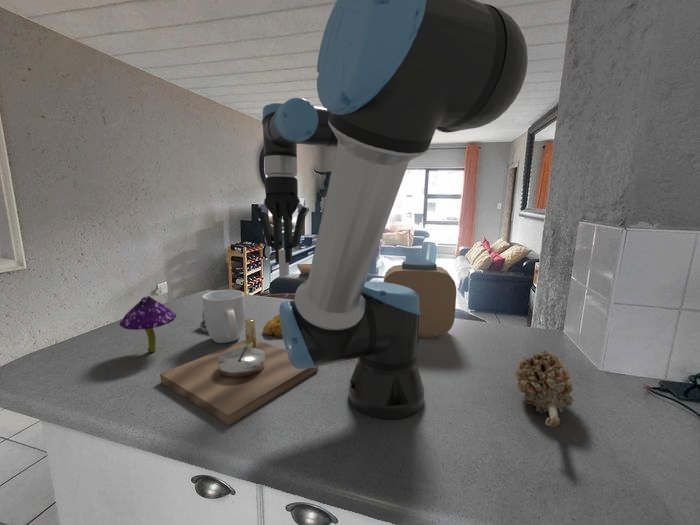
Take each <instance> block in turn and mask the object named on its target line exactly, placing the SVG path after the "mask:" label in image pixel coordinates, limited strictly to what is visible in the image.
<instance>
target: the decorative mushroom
mask: <svg viewBox="0 0 700 525" xmlns="http://www.w3.org/2000/svg"><path fill="white" fill-rule="evenodd" d="M176 318H177V314H176V312H174V311H173V310H172V309H170V308H169V307H168V306H166V305H164V304H163V303H161V302H159V301H158V300H156V299H154V298H153V297H151V296H149V295H144V296H143V297H142V298H141V299H140V301H138V302H137V303H136V304H135V305H134V306H133V307H132V308H130V309H129V311H128V312H127V313H126V314H125V315H124V317H123V318H122V319H121V320H120V322H119V326H120V327H122V328H123V329H126V330H133V331H136V330H137V331H138V330H145V333H146V335H147V340H148V347H147V352H150V353H153V352H156V351H157V344H156V343H157V339H156V334H155V331H154V329H155V328H159V327H162V326H165V325H167V324H170V323H171V322H174V320H175V319H176Z"/></svg>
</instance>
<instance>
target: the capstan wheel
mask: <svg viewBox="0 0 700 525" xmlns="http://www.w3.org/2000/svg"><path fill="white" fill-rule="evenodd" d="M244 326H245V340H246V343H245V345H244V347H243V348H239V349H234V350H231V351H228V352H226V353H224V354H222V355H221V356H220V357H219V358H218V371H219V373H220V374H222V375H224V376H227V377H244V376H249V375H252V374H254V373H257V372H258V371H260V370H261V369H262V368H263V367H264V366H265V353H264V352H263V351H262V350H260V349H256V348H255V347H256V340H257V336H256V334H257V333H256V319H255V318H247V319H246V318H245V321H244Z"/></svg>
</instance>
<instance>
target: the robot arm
mask: <svg viewBox="0 0 700 525" xmlns="http://www.w3.org/2000/svg"><path fill="white" fill-rule="evenodd" d="M525 38H526V37H525V36H524V34H523V32H522V30H521V28H520V26H519V24H518V23H517V22H516V20H514V18H513V17H512V16H511V15H509V13H507V12H505V11H504V10H502V9H501V8H498V7H496V6H495V5H491V4H487V3H483V2H481V1H478V0H336V1H335V4H334V6H333V8H332V10H331V12H330V14H329V17H328V19H327V22H326V26H325V28H324V31H323V34H322V38H321V42H320V46H319V51H318V58H317V64H316V71H317V73H318V75H317V79H316V91H317V96H318V100H319V102H320V104H321V105H322V107H321V106H315V105H313V104H312V103H311V102H309V101H308V100H307V99H305V98H303V97H292V98H289V99H288V100H286V101H285V102H274V103H273V102H272V103H269V104H266V105H264V107H263V108H262V119H261V124H262V138H263V139H262V140H263V160H264V161H263V162H264V167H263V169H264V175H265V176H266V177H265V178H264V190H265V198H264V200H263V203H262V204H260V206H256V207H255V209H254V211H255V212H256V214H257V216H258V217H259V220H260V225H261V228H262V232H263V235H264V238H265V242H266V245H267V247H271V248H273V249H274V260H275V262H276V263H278V272H279V273H278V274H279V275H278V276H279V277H282V278H285V277H287V276H289V275H290V264H289V263H292V261H293V249H294V248H297V247H299V246H300V244H301V239H302V235H303V234H302V233H303V229H304V224H305V220H306V216H307V215H308V213H309V212H310V208H309V207H308V206H305V205H304V204H303V203H301V201H300V198H299V196H298V195H299V194H298V193H299V189H298V188H299V187H298V185H299V183H298V178H296V176H298V149H297V148H298V147H297V146H298V145H306V146H307V145H310V146H316V147H317V146H318V147H319V146H320V147H335V148H336V150H335V153H334V158H333V163H332V168H331V173H330V177H329V181H328V186H327V190H326V195H325V199H324V204H323V210H322V214H321V219H320V222H319V228H318V232H317V237H316V241H315V245H314V250H313V255H312V256H313V257H312V259H311V265H310V270H309V274H308V279H306V280H304V281H303V282H302V283H300V285H299V286H298V287H297V289H296V291H295V293H294V299H293V300H291V299H289V300H288V299H287V300H286V301H283V302H281V303H280V306H279V310H278V311H279V313H278V315H280V324H281V330H282V335H283V337H282V340H283V343H284V348H285V350H286V352H287V355H288V358H289V360H290V362H291V364H292V365H293V366H294V367H295V368H297V369H306V368H316V367H318V368H319V367H322V366H327V365H331V364H332V365H333V364H336V363H340V362H344V361H349V360H354V359H357V361H356V364H355V366H354V369H353V372H352V374H351V377H350V380H349V382H348V383H349V384H348V398H349V401H350V403H351V405H352V407H354V408H355V409H357V410H358V411H359V412H361V413H363V414H365V415H368V416H370V417H372V418H378V419H382V420H397V419H398V420H399V419H404V418H408V417H410V416H414V415H415V414H416V413H418V412H419V411H420V410H421V409H422V408H423V406H424V402H425V386H424V383H423V379H422V376H421V373H420V370H419V366H418V347H419V346H418V345H419V343H418V342H419V338H418V328H419V315H420V310H419V296H418V294H417V293H416V292H415V291H414V290H412V289H410V288H408V287H405V286H401V285H397V284H392V283H386V282H383V281H371V280H370V281H367V279H368V277H369V274H370V270H371V267H372V264H373V262H374V260H375V256H376V253H377V251H378V248H379V246H380V243H381V240H382V238H383V235H384V232H385V228H386V226H387V224H388V220H389V219H390V218H389V217H390V215H391V213H392V210H393V207H394V204H395V202H396V199H397V197H398V194H399V190H400V188H401V185H402V182H403V179H404V177H405V174H406V172H407V169H408V166H409V163H410V162H412V161H413V160H415V159H417V158H418V157H421V156H423V155H424V154H425V155H426V153H427V152H428V150H429V148H430V145H431V143H432V140H433V138H434V135H435V133H436V131H439V132H442V133H446V134H448V133H455V132H460V131H466V130H471V129H472V130H473V129H478V128H481V127H482V128H483V127H484V126H486V125H489V124H491V123H492V122H494V121H496V120H497V119H498V118H500V117H501V116H502V115H503V114H504V113H506V112H507V110H509V108H510V107H511V106H512V105H513V103H514V102H515V101H516V99H517V97H518V95H519V94H520V92H521V90H522V87H523V85H524V82H525V79H526V76H527V70H528V64H529V63H528V62H529V58H528V46H527V43H526V39H525ZM268 211H269V212H270V213H271V218H272V225H273V229H272V225H271V221H270V218H269V217H270V216H269V215H268ZM296 211H297V213H298V214H297V217H296V222H295V225H294V231H293V215H294V214H295V212H296ZM282 221H283V222H282ZM282 223H283V224H282ZM283 242H284V243H283ZM283 244H284V245H283Z"/></svg>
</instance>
